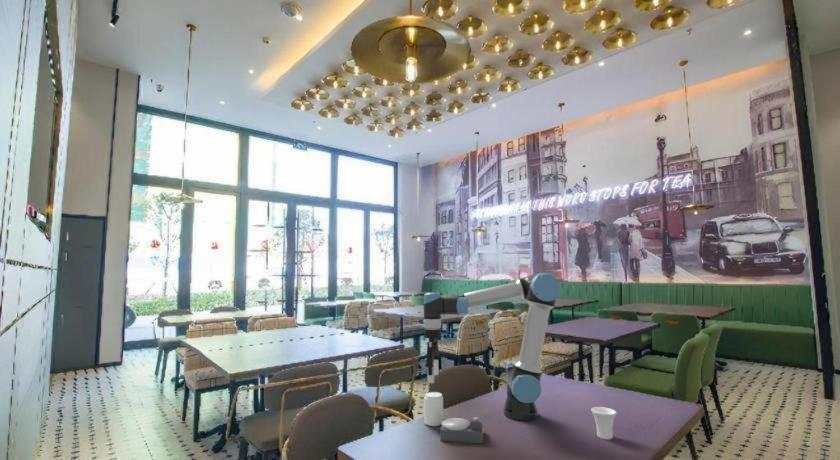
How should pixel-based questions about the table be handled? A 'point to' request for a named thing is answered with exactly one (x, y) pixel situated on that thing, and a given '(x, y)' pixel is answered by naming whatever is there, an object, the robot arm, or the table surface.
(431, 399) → the beverage can
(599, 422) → the cup
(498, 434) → the table surface
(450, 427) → the grey hot plate stirrer
